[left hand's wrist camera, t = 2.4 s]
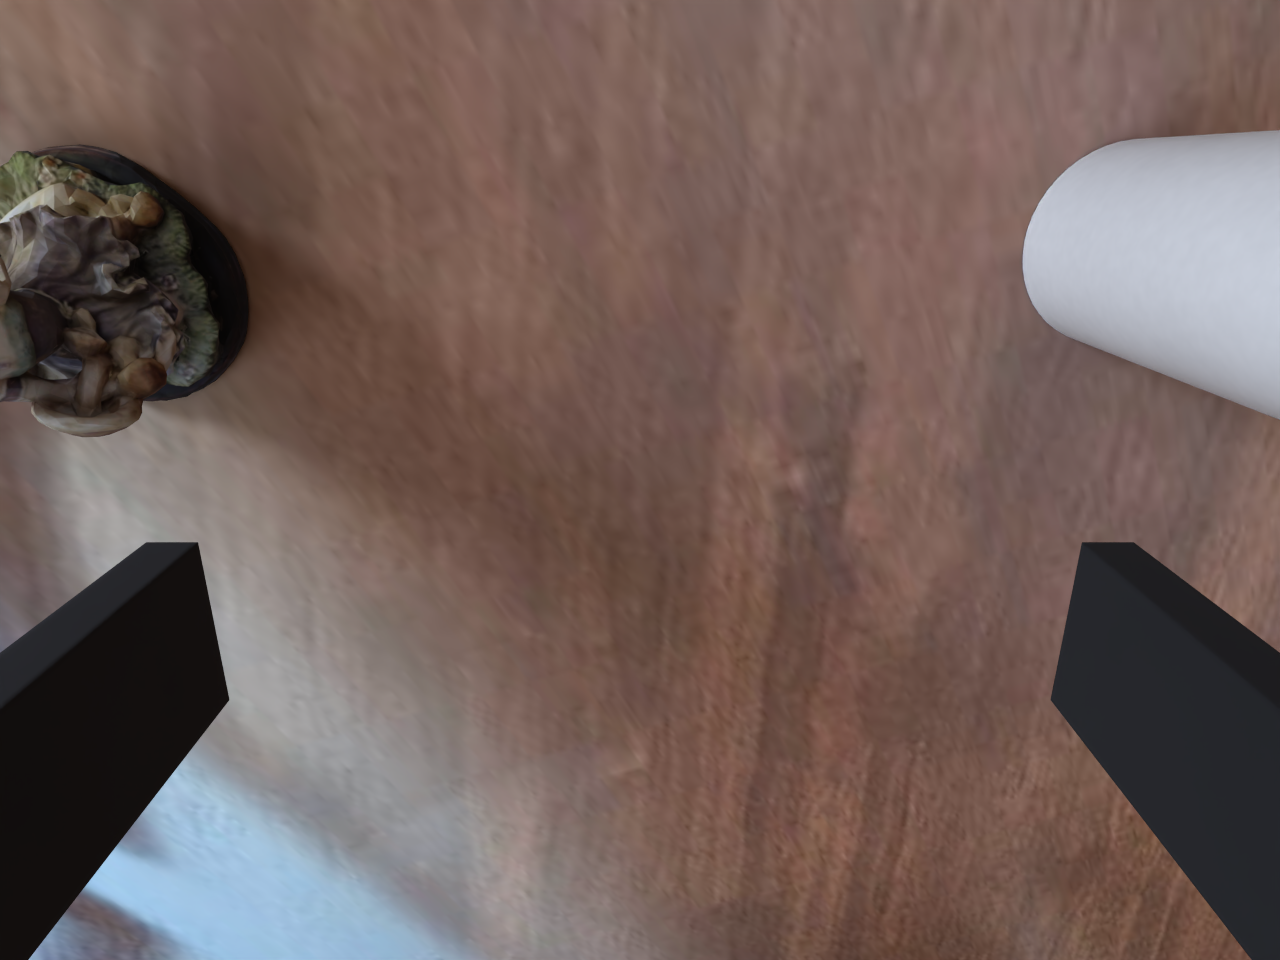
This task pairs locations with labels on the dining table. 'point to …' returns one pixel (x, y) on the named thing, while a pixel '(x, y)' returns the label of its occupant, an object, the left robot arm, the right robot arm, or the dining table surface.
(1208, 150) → the jar
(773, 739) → the dining table surface
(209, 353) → the figurine
